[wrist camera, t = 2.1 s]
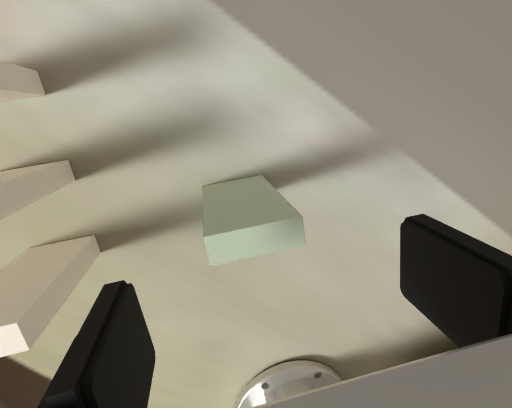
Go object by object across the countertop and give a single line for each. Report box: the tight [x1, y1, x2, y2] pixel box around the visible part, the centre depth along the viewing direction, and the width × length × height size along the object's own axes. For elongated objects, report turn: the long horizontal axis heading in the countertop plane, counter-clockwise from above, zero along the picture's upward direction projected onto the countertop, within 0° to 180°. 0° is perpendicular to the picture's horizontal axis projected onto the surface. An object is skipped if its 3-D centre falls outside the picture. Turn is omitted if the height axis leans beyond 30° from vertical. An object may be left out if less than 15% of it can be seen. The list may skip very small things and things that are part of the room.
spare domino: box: [202, 175, 306, 266], centre depth 20 cm, size 2×5×11 cm, turn 99°
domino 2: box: [0, 235, 100, 357], centre depth 19 cm, size 2×5×11 cm, turn 98°
